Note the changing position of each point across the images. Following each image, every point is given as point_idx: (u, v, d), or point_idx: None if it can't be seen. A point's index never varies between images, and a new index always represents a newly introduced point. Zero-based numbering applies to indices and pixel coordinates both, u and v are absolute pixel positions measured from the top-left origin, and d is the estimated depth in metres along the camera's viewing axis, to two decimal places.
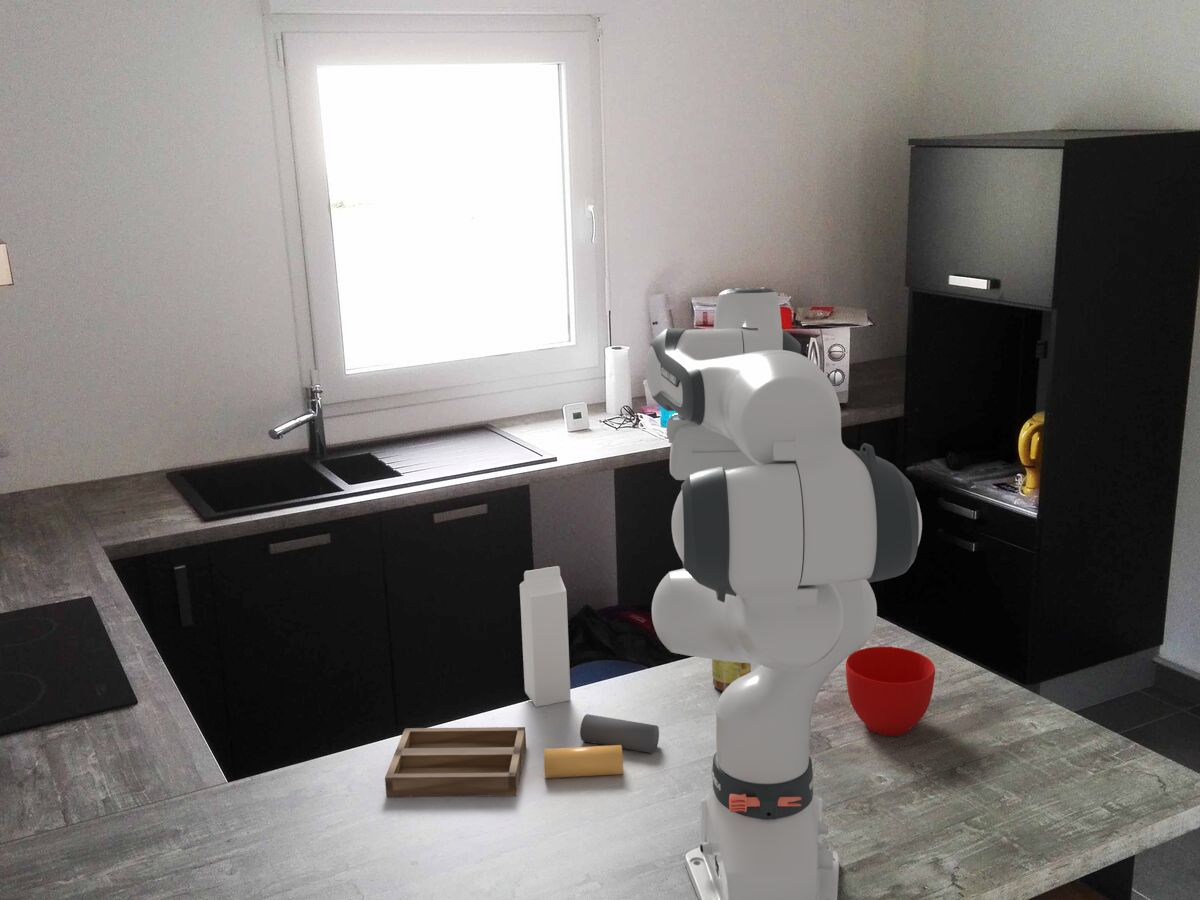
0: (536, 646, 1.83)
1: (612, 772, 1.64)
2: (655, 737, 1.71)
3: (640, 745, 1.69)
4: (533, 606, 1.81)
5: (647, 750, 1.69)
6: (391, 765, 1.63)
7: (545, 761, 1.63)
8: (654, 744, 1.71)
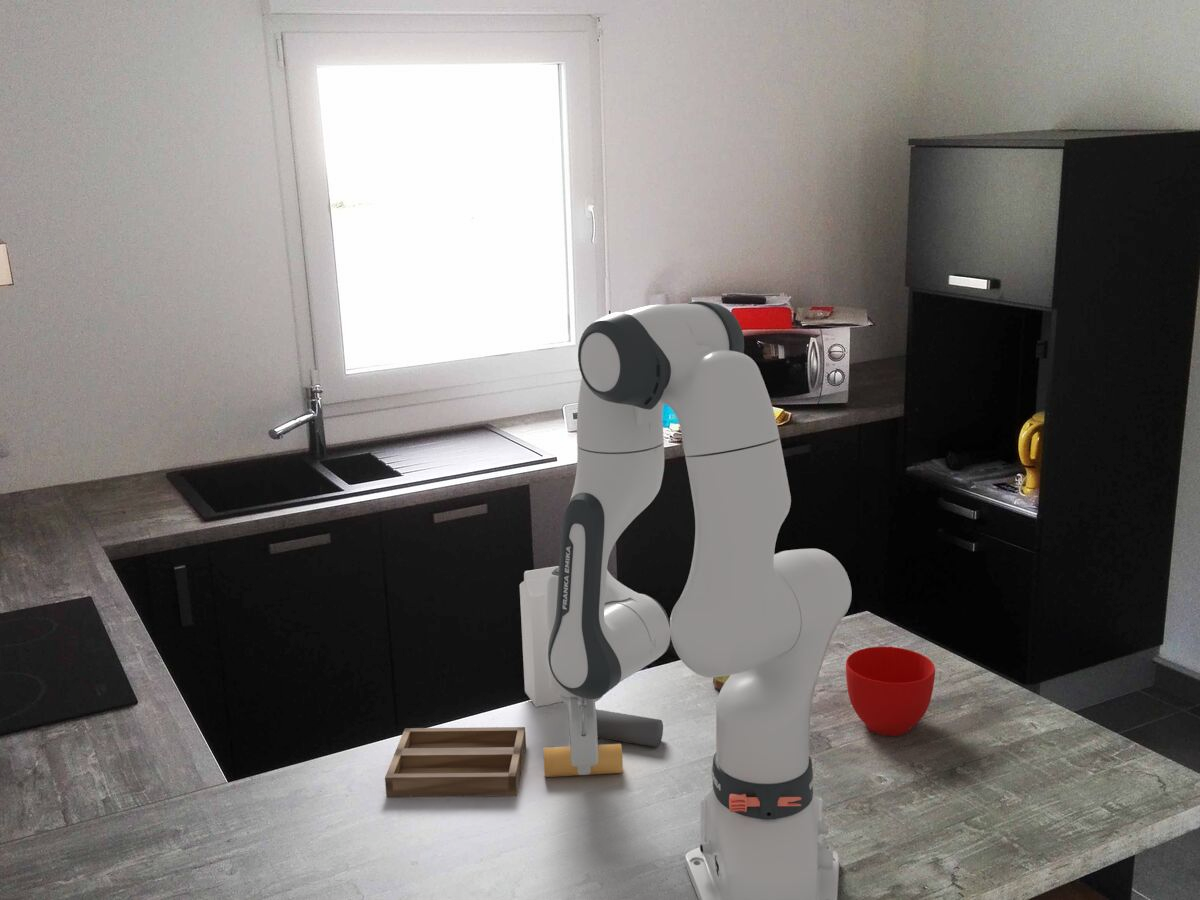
0: (536, 646, 1.83)
1: None
2: (659, 735, 1.73)
3: (646, 726, 1.71)
4: (533, 606, 1.81)
5: (651, 733, 1.70)
6: (391, 765, 1.63)
7: (545, 765, 1.63)
8: (657, 738, 1.72)
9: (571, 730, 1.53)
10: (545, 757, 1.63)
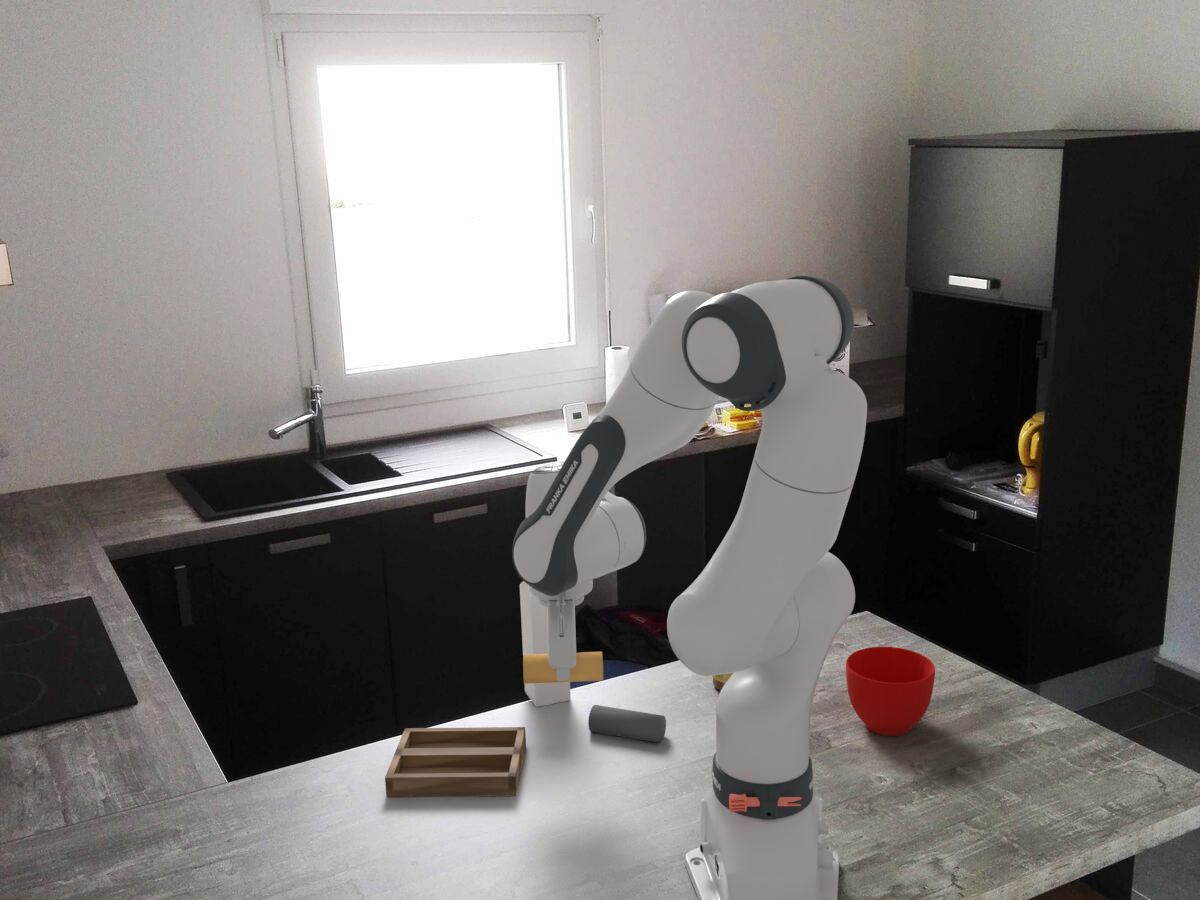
0: (536, 646, 1.83)
1: (592, 680, 1.62)
2: (661, 733, 1.73)
3: (652, 715, 1.73)
4: (533, 606, 1.81)
5: (656, 719, 1.72)
6: (391, 765, 1.63)
7: (524, 671, 1.60)
8: (659, 731, 1.73)
9: (549, 631, 1.51)
10: (524, 663, 1.60)
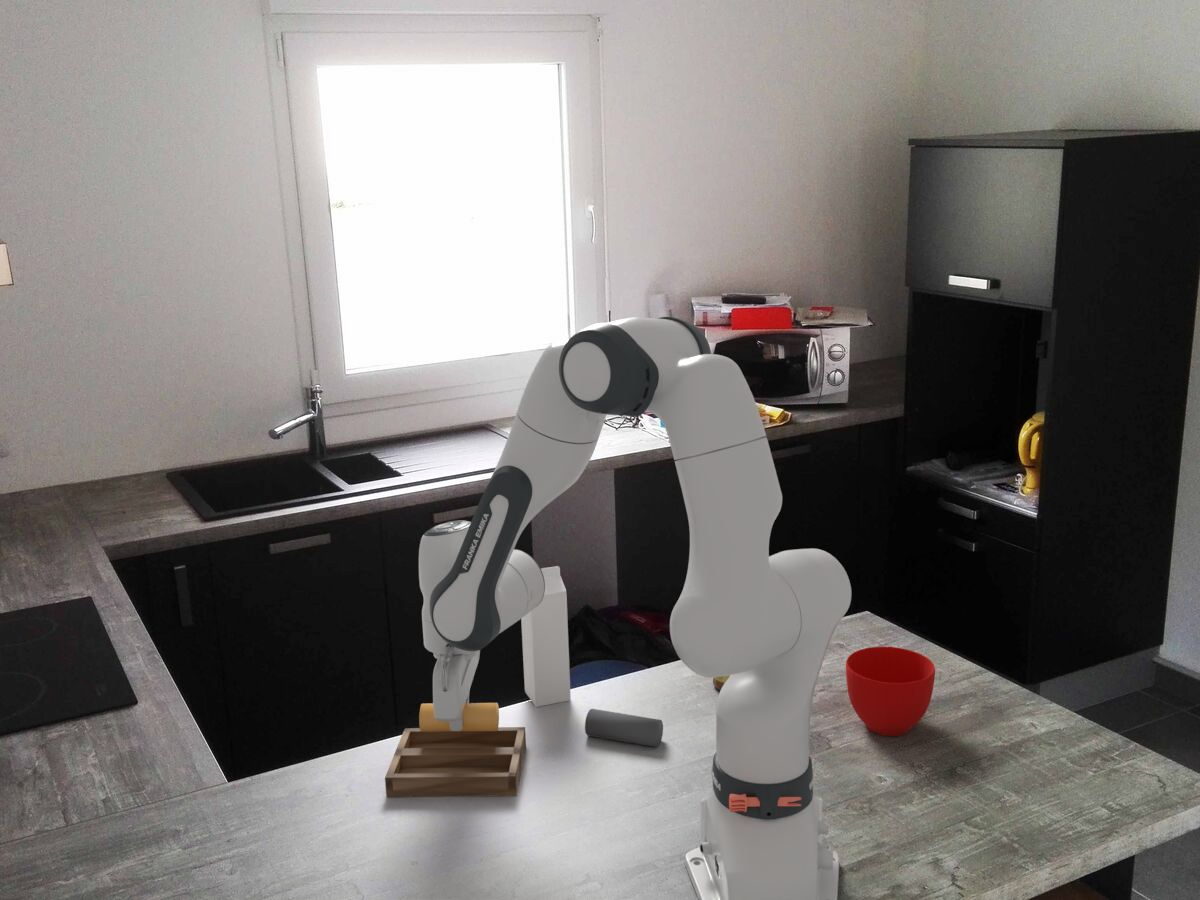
0: (536, 646, 1.83)
1: (486, 730, 1.68)
2: (659, 735, 1.73)
3: (646, 726, 1.71)
4: None
5: (651, 733, 1.70)
6: (391, 765, 1.63)
7: (420, 720, 1.67)
8: (657, 738, 1.72)
9: (433, 685, 1.58)
10: (421, 712, 1.68)
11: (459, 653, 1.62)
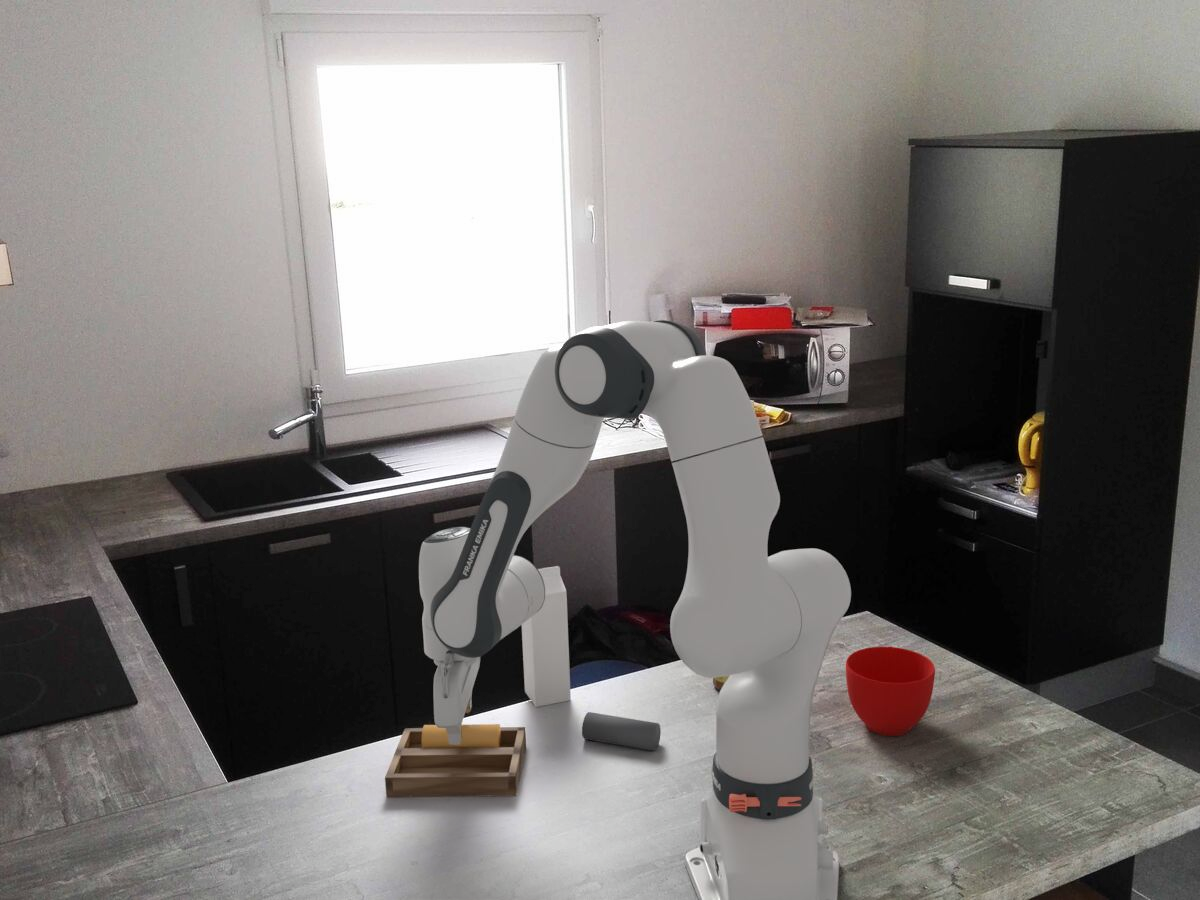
0: (536, 646, 1.83)
1: None
2: (657, 736, 1.72)
3: (642, 738, 1.70)
4: None
5: (648, 744, 1.70)
6: (391, 765, 1.63)
7: (422, 740, 1.68)
8: (655, 742, 1.71)
9: (434, 692, 1.58)
10: (423, 732, 1.69)
11: (459, 660, 1.62)
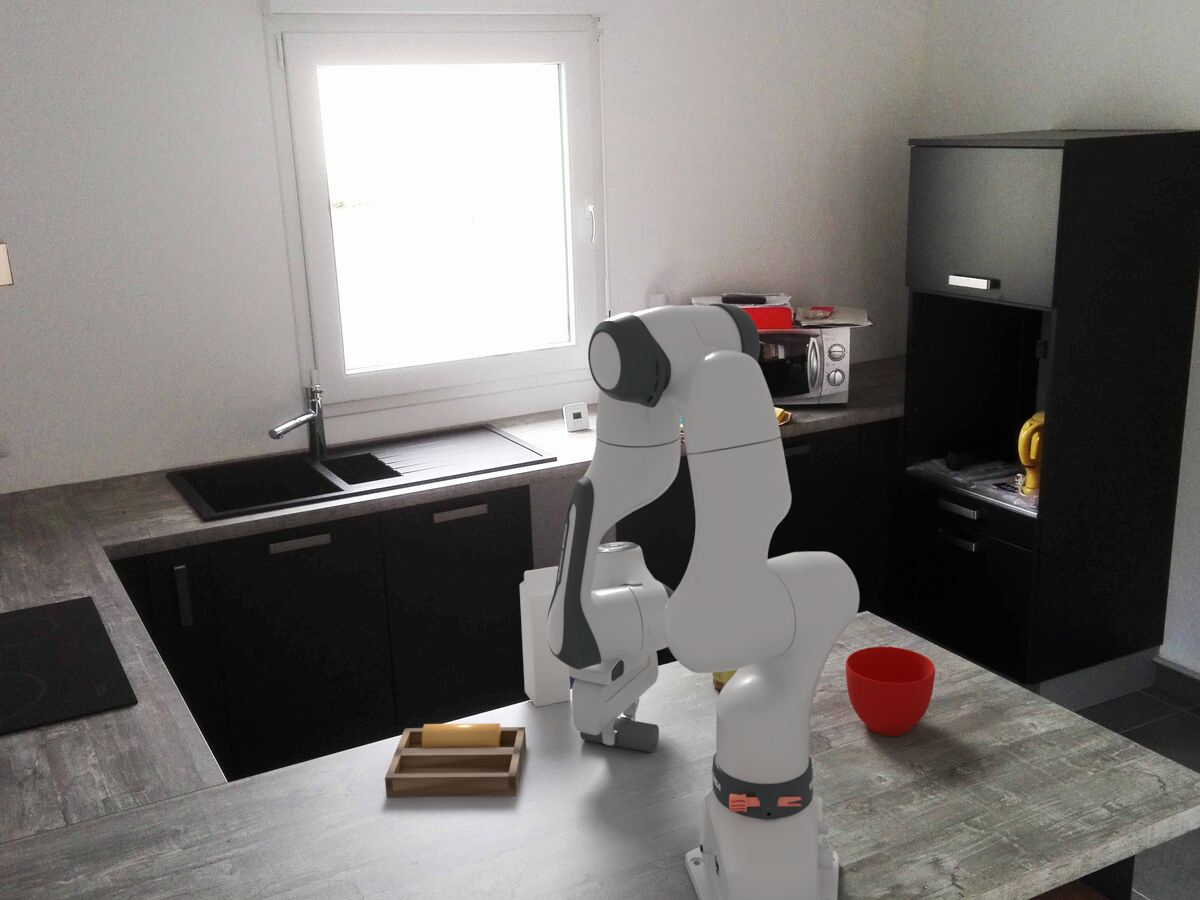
0: (536, 646, 1.83)
1: None
2: (655, 736, 1.71)
3: (640, 744, 1.69)
4: (533, 606, 1.81)
5: (647, 749, 1.69)
6: (391, 765, 1.63)
7: (423, 737, 1.68)
8: (654, 743, 1.71)
9: None
10: (424, 730, 1.69)
11: None
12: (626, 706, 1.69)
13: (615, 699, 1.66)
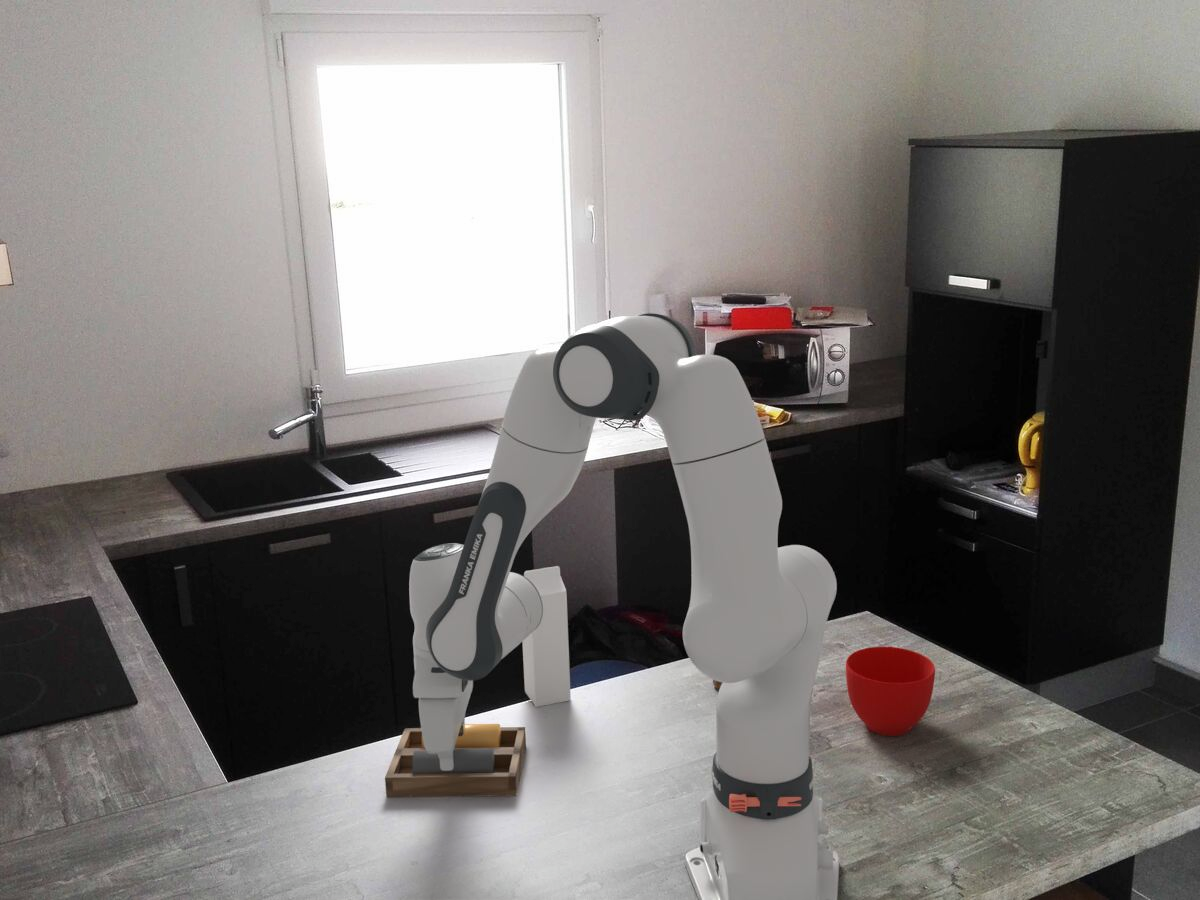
0: (536, 646, 1.83)
1: None
2: (493, 760, 1.64)
3: (481, 771, 1.61)
4: None
5: None
6: (391, 765, 1.63)
7: None
8: (493, 768, 1.63)
9: None
10: None
11: None
12: (462, 718, 1.60)
13: (457, 712, 1.56)
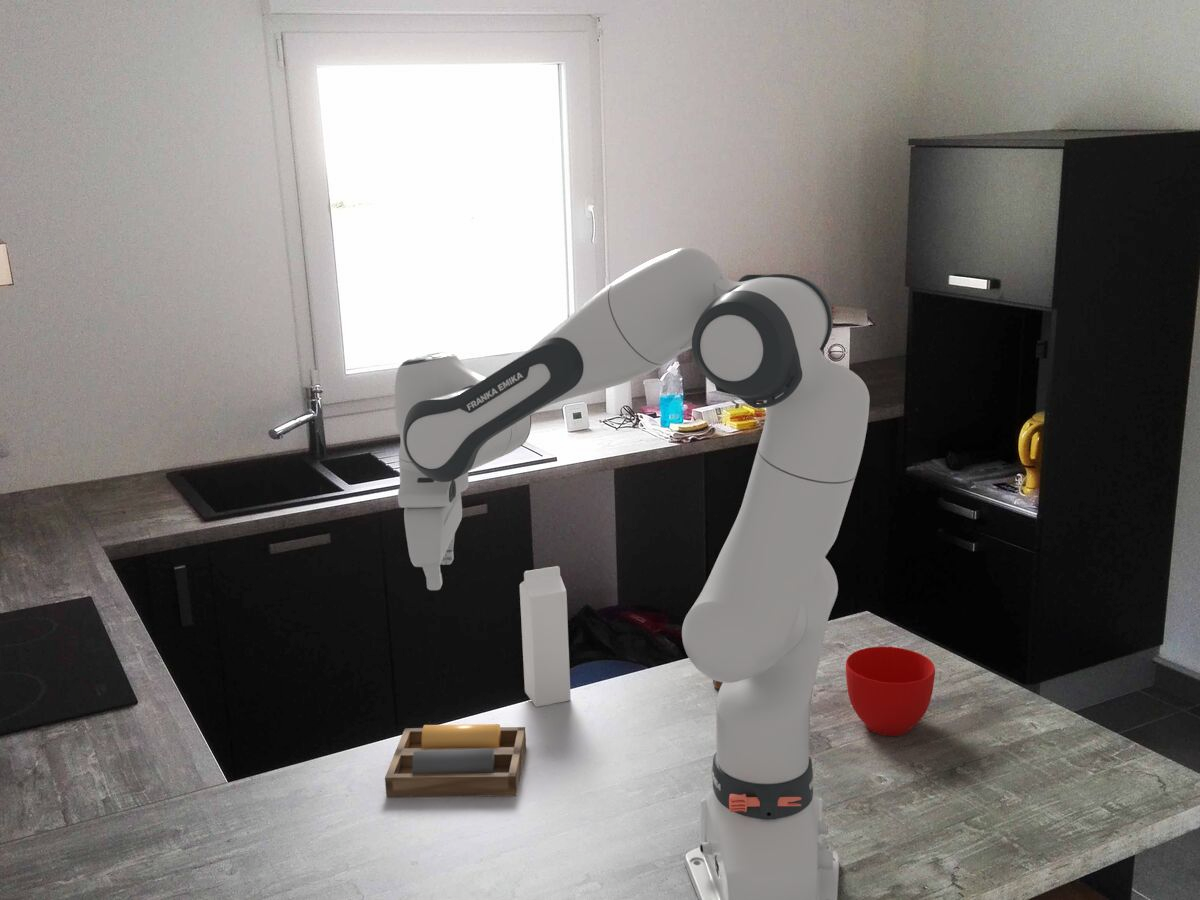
0: (536, 646, 1.83)
1: None
2: (493, 760, 1.63)
3: None
4: (533, 606, 1.81)
5: None
6: (391, 765, 1.63)
7: (422, 740, 1.68)
8: (493, 768, 1.63)
9: None
10: (423, 732, 1.69)
11: None
12: (450, 539, 1.53)
13: (445, 528, 1.50)
